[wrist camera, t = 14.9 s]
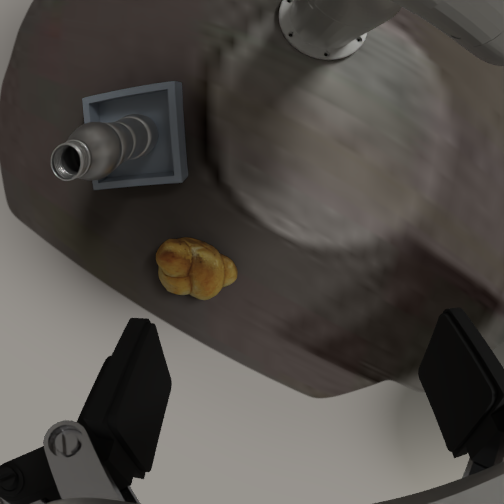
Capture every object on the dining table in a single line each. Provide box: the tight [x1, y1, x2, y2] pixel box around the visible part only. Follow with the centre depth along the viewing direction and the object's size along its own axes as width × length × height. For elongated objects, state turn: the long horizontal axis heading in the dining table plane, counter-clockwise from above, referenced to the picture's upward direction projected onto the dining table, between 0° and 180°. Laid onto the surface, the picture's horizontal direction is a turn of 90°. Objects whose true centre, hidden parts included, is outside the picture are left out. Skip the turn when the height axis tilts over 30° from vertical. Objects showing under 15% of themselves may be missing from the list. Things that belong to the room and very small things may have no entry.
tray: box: [82, 81, 188, 190], centre depth 41 cm, size 14×14×4 cm
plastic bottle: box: [51, 114, 158, 181], centre depth 33 cm, size 6×7×20 cm
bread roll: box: [156, 238, 237, 300], centre depth 49 cm, size 13×10×8 cm
